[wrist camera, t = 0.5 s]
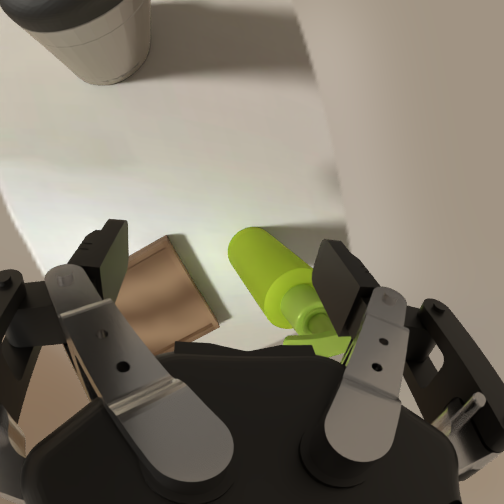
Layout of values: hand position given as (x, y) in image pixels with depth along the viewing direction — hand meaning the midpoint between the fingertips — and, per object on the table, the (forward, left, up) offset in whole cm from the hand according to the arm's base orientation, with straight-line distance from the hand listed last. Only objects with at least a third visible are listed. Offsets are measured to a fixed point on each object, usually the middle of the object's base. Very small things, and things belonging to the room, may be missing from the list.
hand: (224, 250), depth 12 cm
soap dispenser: (+11, +3, -23) cm, 25 cm away
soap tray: (+11, -10, -22) cm, 27 cm away
